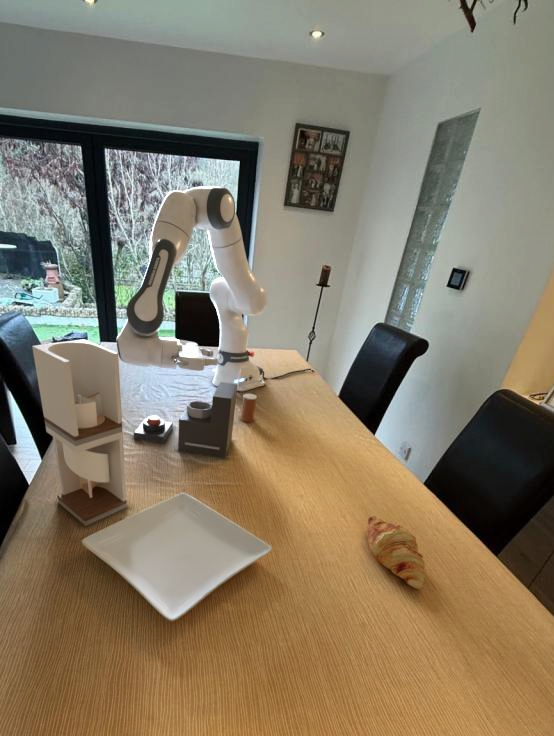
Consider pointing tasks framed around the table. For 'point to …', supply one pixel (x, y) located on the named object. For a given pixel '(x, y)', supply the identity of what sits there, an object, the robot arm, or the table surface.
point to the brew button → (153, 420)
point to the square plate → (176, 552)
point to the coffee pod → (248, 407)
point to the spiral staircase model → (84, 425)
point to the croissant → (396, 550)
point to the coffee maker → (209, 424)
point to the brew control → (153, 431)
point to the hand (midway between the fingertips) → (215, 357)
